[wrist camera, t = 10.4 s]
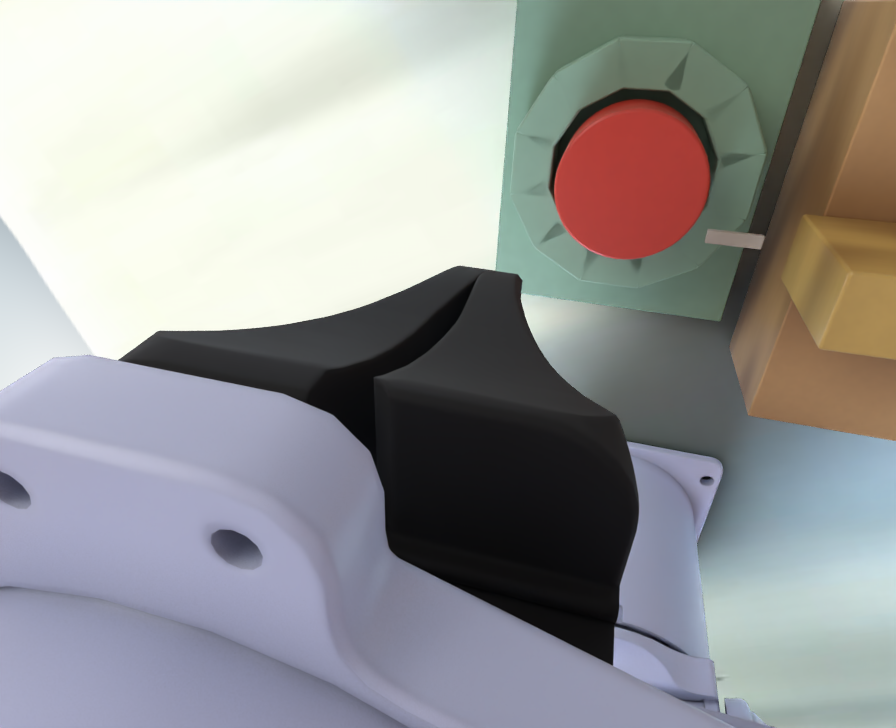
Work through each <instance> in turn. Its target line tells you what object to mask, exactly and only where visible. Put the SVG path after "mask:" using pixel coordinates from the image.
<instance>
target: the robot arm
mask: <svg viewBox="0 0 896 728" xmlns="http://www.w3.org/2000/svg"><path fill="white" fill-rule="evenodd" d="M522 282H523V280H522V279H521V278H520V276H519V275H518V274H514V273H507V272H500V271H493V270H486V269H479V268H472V267H465V266H456V267H453V268H451V269H448V270H446V271H444V272H442V273H440V274H438V275H435V276H433V277H431V278H429V279H427V280H425V281H423V282H421V283H419V284H417V285H414V286H412V287H410V288H408V289H406V290H404V291H401V292H399V293H396V294H394V295H391V296H389V297H386V298H384V299H381V300H379V301H377V302H374V303H371V304H369V305H366V306H363V307H360V308H357V309H354V310H350V311H346V312H343V313H339V314H336V315H332V316H328V317H324V318H318V319H313V320H308V321H302V322H297V323H292V324H286V325H279V326H271V327H263V328H252V329H240V330H223V331H158V332H156V333H155V334H153V335H152V336H151V337H149V338H148V339H147V340H145V341H144V342H143V343H141V344H140V345H138V346H137V347H136V348H134V349H133V350H132V351H130V352H129V353H127V354H126V355H125V356H123V357H122V358H121V359H119V360H118V361H117V360H112V359H107V358H102V357H97V356H92V355H82V356H69V357H56V358H52V359H50V360H49V361H47V362H46V363H44V364H42V365H41V366H39V367H38V368H36V369H34V370H33V371H31V372H30V373H28V374H26V375H25V376H23V377H22V378H20V379H18V380H17V381H15V382H14V383H12V384H10V385H9V386H7V387H6V388H4V389H2V390H1V391H0V728H775V727H771V726H768V725H766V724H765V723H764V722H763V721H762V720H761V719H760V718H759V717H758V716H757V715H756V714H755V713H754V712H752V711H750V708H749V706H748V704H747V702H746V701H745V700H743V699H741V698H732V699H729V698H725V699H724V701H725V712H726V714H724V713H720V709H719V701H718V693H717V685H716V676H715V668H714V662H713V661H712V660H711V659H710V655H709V646H708V637H707V629H706V620H705V612H704V603H703V594H702V586H701V577H700V568H699V560H698V551H697V542H698V539H699V536H700V534H701V531H702V528H703V526H704V523H705V520H706V518H707V515H708V512H709V510H710V507H711V504H712V502H713V499H714V496H715V494H716V491H717V488H718V486H719V483H720V480H721V478H722V475H723V466H722V464H721V462H720V461H719V460H718V459H716V458H713V457H708V456H702V455H697V454H692V453H686V452H681V451H676V450H671V449H665V448H660V447H655V446H649V445H644V444H639V443H633V442H628V441H626V438H625V435H624V432H623V429H622V426H621V423H620V420H619V419H618V417H617V416H616V415H615V414H613V413H612V412H610V411H608V410H607V409H605V408H603V407H602V406H600V405H598V404H597V403H595V402H593V401H592V400H590V399H588V398H587V397H585V396H584V395H582V394H581V393H580V392H579V391H577V390H576V389H575V388H574V387H572V386H571V385H570V384H569V383H567V382H566V381H565V380H564V379H563V378H562V377H561V376H560V375H559V374H558V373H557V372H556V371H555V369H554V368H553V367H552V366H551V365H550V364H549V362H548V361H547V360H546V358H545V357H544V355H543V354H542V352H541V350H540V349H539V347H538V345H537V343H536V342H535V340H534V338H533V335H532V333H531V331H530V328H529V326H528V324H527V321H526V318H525V315H524V311H523V307H522V303H521V290H522ZM704 476H709V477H712V478H711V479H708V480H704V479H702V477H704Z"/></svg>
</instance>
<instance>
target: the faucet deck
mask: <svg viewBox="0 0 896 728" xmlns="http://www.w3.org/2000/svg"><path fill="white" fill-rule="evenodd" d="M806 214H807V215H818V216H828V217H839V218H849V219H860V220H870V221H881V222H891V223H896V0H845V1H844V2H843V4H842V7H841V10H840V13H839V16H838V19H837V22H836V25H835V28H834V31H833V34H832V37H831V40H830V43H829V46H828V49H827V52H826V55H825V58H824V61H823V64H822V67H821V70H820V73H819V76H818V79H817V82H816V85H815V88H814V91H813V94H812V97H811V100H810V103H809V106H808V109H807V112H806V115H805V118H804V121H803V125H802V128H801V131H800V134H799V137H798V140H797V143H796V146H795V149H794V152H793V155H792V158H791V161H790V164H789V167H788V170H787V173H786V176H785V179H784V182H783V185H782V188H781V191H780V194H779V197H778V200H777V203H776V206H775V209H774V212H773V215H772V218H771V221H770V224H769V227H768V230H767V233H766V236H764V235H761V234H752V233H743V232H734V231H725V230H716V229H708V230H707V234H706V237H705V243H709V244H718V245H726V246H735V247H743V248H752V249H761V251H760V254H759V257H758V260H757V263H756V267H755V270H754V273H753V276H752V279H751V282H750V285H749V288H748V291H747V294H746V297H745V300H744V303H743V306H742V309H741V312H740V315H739V318H738V321H737V324H736V327H735V330H734V333H733V336H732V339H731V342H730V345H729V348H730V352H731V355H732V359H733V363H734V366H735V370H736V373H737V377H738V381H739V384H740V388H741V391H742V395H743V398H744V402H745V406H746V409H747V413H748V415H749V416H753V417H759V418H765V419H771V420H777V421H782V422H788V423H794V424H800V425H806V426H811V427H817V428H823V429H829V430H835V431H841V432H846V433H852V434H858V435H864V436H870V437H875V438H881V439H887V440H893V441H896V360H893V359H885V358H878V357H871V356H864V355H857V354H849V353H842V352H835V351H828V350H821V349H819V348H818V347H817V345H816V343H815V341H814V339H813V337H812V336H811V334H810V332H809V330H808V328H807V326H806V324H805V323H804V321H803V319H802V317H801V315H800V313H799V311H798V310H797V308H796V306H795V304H794V302H793V300H792V299H791V297H790V295H789V293H788V291H787V289H786V287H785V286H784V284H783V282H782V280H781V276H782V273H783V270H784V267H785V264H786V261H787V258H788V256H789V253H790V250H791V247H792V244H793V241H794V238H795V236H796V233H797V230H798V227H799V224H800V221H801V218H802V216H803V215H806ZM764 238H765V239H764ZM763 241H764V242H763ZM762 244H763V245H762ZM761 247H762V248H761Z"/></svg>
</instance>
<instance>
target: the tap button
mask: <svg viewBox="0 0 896 728" xmlns="http://www.w3.org/2000/svg"><path fill="white" fill-rule="evenodd" d="M710 177H711V176H710V165H709V161H708V157H707V154H706V151H705V149H704V146H703V144H702V142H701V140H700V138H699V136H698V134H697V133H696V131H695V129H694V128H693V126H692V125H691V123H690V122H689V121H688V120H687V119H686V118H685V117H684V116H683V115H682V114H681V113H680V112H678V111H677V110H675V109H674V108H672V107H670V106H668V105H666V104H664V103H660V102H657V101H653V100H646V99H632V100H625V101H621V102H617V103H614V104H611V105H609V106H607V107H604V108H603V109H601V110H599V111H597V112H596V113H595V114H593V115H592V116H591V117H589V118H588V119H587V120H586V121H585V122H584V123H583V124H582V125H581V126H580V127H579V128H578V130H577V131H576V132H575V134H574V135H573V137H572V138H571V140H570V142H569V144H568V146H567V148H566V150H565V152H564V154H563V156H562V158H561V160H560V163H559V166H558V169H557V172H556V177H555V185H554V196H555V204H556V209H557V212H558V215H559V217H560V220H561V222H562V223H563V225H564V227H565V228H566V230H567V231H568V233H569V234H570V235H571V236H572V237H573V238H574V239H575V240H576V241H577V242H578V243H579V244H580V245H582V246H583V247H585V248H586V249H588V250H589V251H591V252H594V253H596V254H598V255H601V256H604V257H608V258H613V259H624V260H626V259H638V258H643V257H647V256H651V255H654V254H656V253H659V252H661V251H663V250H665V249H667V248H668V247H670V246H672V245H673V244H675V243H676V242H677V241H679V240H680V239H681V238H682V237H683V236H684V235H685V234H687V233H688V231H689V230H690V229H691V228H692V227H693V225H694V224H695V223H696V221H697V220H698V218H699V217H700V215H701V213H702V211H703V209H704V207H705V204H706V201H707V198H708V194H709V189H710Z"/></svg>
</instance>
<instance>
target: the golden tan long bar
mask: <svg viewBox="0 0 896 728" xmlns="http://www.w3.org/2000/svg"><path fill="white" fill-rule="evenodd" d="M781 280H782V282H783V284H784V286H785V287H786V289H787V291H788V293H789V295H790V297H791V299H792V300H793V302H794V304H795V306H796V308H797V310H798V311H799V313H800V315H801V317H802V319H803V321H804V323H805V324H806V326H807V328H808V330H809V332H810V334H811V336H812V337H813V339H814V341H815V343H816V345H817V347H818V348H819V349H821V350H828V351H835V352H842V353H849V354H857V355H864V356H871V357H878V358H885V359H893V360H896V223H891V222H881V221H870V220H860V219H849V218H839V217H828V216H818V215H807V214H806V215H803V216H802V218H801V221H800V224H799V227H798V230H797V233H796V236H795V238H794V241H793V244H792V247H791V250H790V253H789V256H788V258H787V261H786V264H785V267H784V270H783V273H782V276H781Z"/></svg>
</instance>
